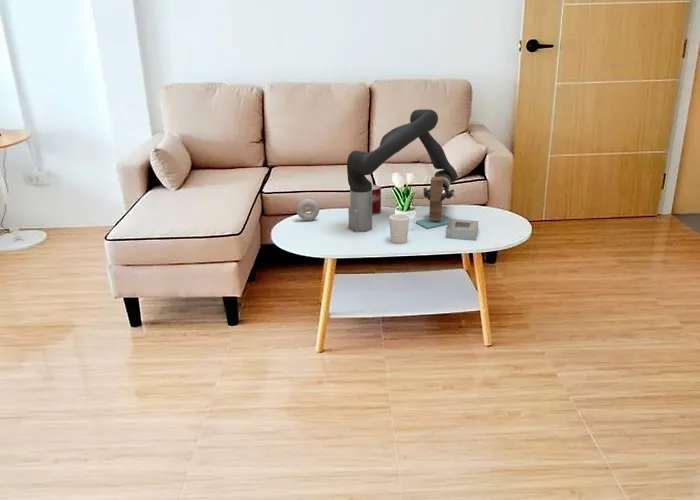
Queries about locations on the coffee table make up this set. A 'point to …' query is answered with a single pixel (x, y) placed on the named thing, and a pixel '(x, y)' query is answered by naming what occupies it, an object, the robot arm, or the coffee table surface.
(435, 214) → the walnut post
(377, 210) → the soda can
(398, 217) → the beige cup
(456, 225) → the socket block
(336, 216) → the coffee table surface
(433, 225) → the slate mat
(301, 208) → the donut
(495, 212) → the coffee table surface
